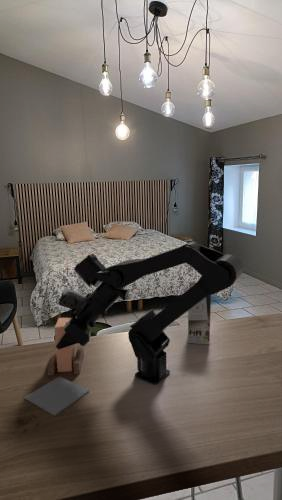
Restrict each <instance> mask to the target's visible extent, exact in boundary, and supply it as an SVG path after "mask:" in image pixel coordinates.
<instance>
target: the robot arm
mask: <svg viewBox="0 0 282 500" xmlns="http://www.w3.org/2000/svg"><path fill="white" fill-rule="evenodd" d="M183 264H187V265H189V266H190V267H192V269H193V270H195V271H196V272H197V273H198V274H200V277H199V279H198V280H197V281H196V282H195V283H196V284H195V285H193V286H192V287H191V288H190V289H189V288H188V289H187V290H186V291H184V292H183V294H180V296H178V297H177V298H176V299H174V300H173V301H172V302H171V303H170V304H168V305H167V306H166V307H165V308H162V310H161V311H159V312H157V313H155V311H154V309H150V310H149V311H147V312H146V313H145V314H143V316H141V317H140V318H139V319H137V320H136V321H134V322H133V323H132V324H131V325H130V326H129V328H131V329H130V330H129V331H128V339H129V340H128V341H129V343H130V344H131V347H132V350H133V353H134V356H135V358H136V360H137V362H136V363H137V366H136V367H137V371H136V373H135V374H134V377H135V378H137V379H140V380H143V381H145V382H148V383H151V384H152V385H158V384H159V383H160V382H162V380H164V379H165V378H166V377H167V376H168V375H169V374H170V373H171V370H169V369H167V352H166V351H165V349H166V348H167V347H169V345H170V342H171V339H170V338H169V336H168V335H167V334H166V333H165V330H166V329H167V328H168V326H170V325H171V324H173V323H174V322H175V321H176V320H178V319H179V318H181V316H183V315H184V314H186V313H187V312H188V310H190V309H191V308H192V307H194V306H195V305H196V304H198V303H199V302H200V301H202V300H203V299H204V298H205V297H207V296H210V295H211V296H212V295H215V294H217V293H220V292H221V291H223V290H226V289H228V288H230V287H232V286H233V284H235V282H236V281H237V280H238V279H239V278H240V277H241V276H242V274H243V272H244V265H243V263H242V261H241V259H240V258H239V257H238V256H236V255H234V254H228V253H226V254H225V253H223V252H221V251H218V250H216V249H213V248H210V247H207V246H204V245H202V244H200V243H198V242H196V241H189V242H186V243H185V244H183V245H180V246H178V247H175V248H172V249H169V250H166V251H163V252H160V253H158V254H155V255H152V256H149V257H146V258H135V259H127V260H124V261H121V262H119V263H117V264H114V265H111V266H108V267H106V266H105V265H104V264H103V263H102V262H101V261H100V260H99V258H97V255H95V254H94V253H90V254H87V256H86V257H85V258H84V259H82V260H81V261H80V262H79V263H77V264H76V265H75V266H74V268H73V270H74V272H75V273H76V274H77V275H78V277H79V278H80V279H81V280H82V281H83V282H84V283H85V285H87V287H89V288H90V287H92V286H93V288H95V287H96V288H95V290H93V291H92V292H88V293H86V295H84V294H82V293H80V292H78V291H76V290H72V289H71V288H68V287H64V289H63V291H62V292H61V295H60V298H59V300H58V302H57V305H59V306H61V307H65V308H67V309H69V310H70V318H71V319H70V320H69V321H68V323H67V322H66V325H65V328H64V331H65V334H64V335H63V337H62V338H61V339H60V341H59V342H58V344H57V345H56V344H55V347H56V348H57V349H62V348H65V347H68V346H71V345H74V346H75V345H77V344H78V345H80V346H83V347H85V346H86V345H87V344H88V343H89V342H90V339H91V336H92V335H91V332H92V331H91V329H90V328H89V327H91V328H94V327H95V326H96V322H97V321H98V319H100V318H101V317H104V316H105V315H106V314H107V311H108V309H109V308H110V307H112V305H114V303H116V301H118V299H119V298H120V299H121V300H122V301H124V302H125V301H129V299H130V294H129V293H130V289H125V288H126V287H127V286H129V285H131V284H132V283H135V282H136V281H138V280H141V278H143V277H145V276H148V275H152V274H154V273H158V272H161V271H164V270H167V269H168V270H169V269H171V268H174V267H177V266H180V265H183ZM88 326H89V327H88Z"/></svg>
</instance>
